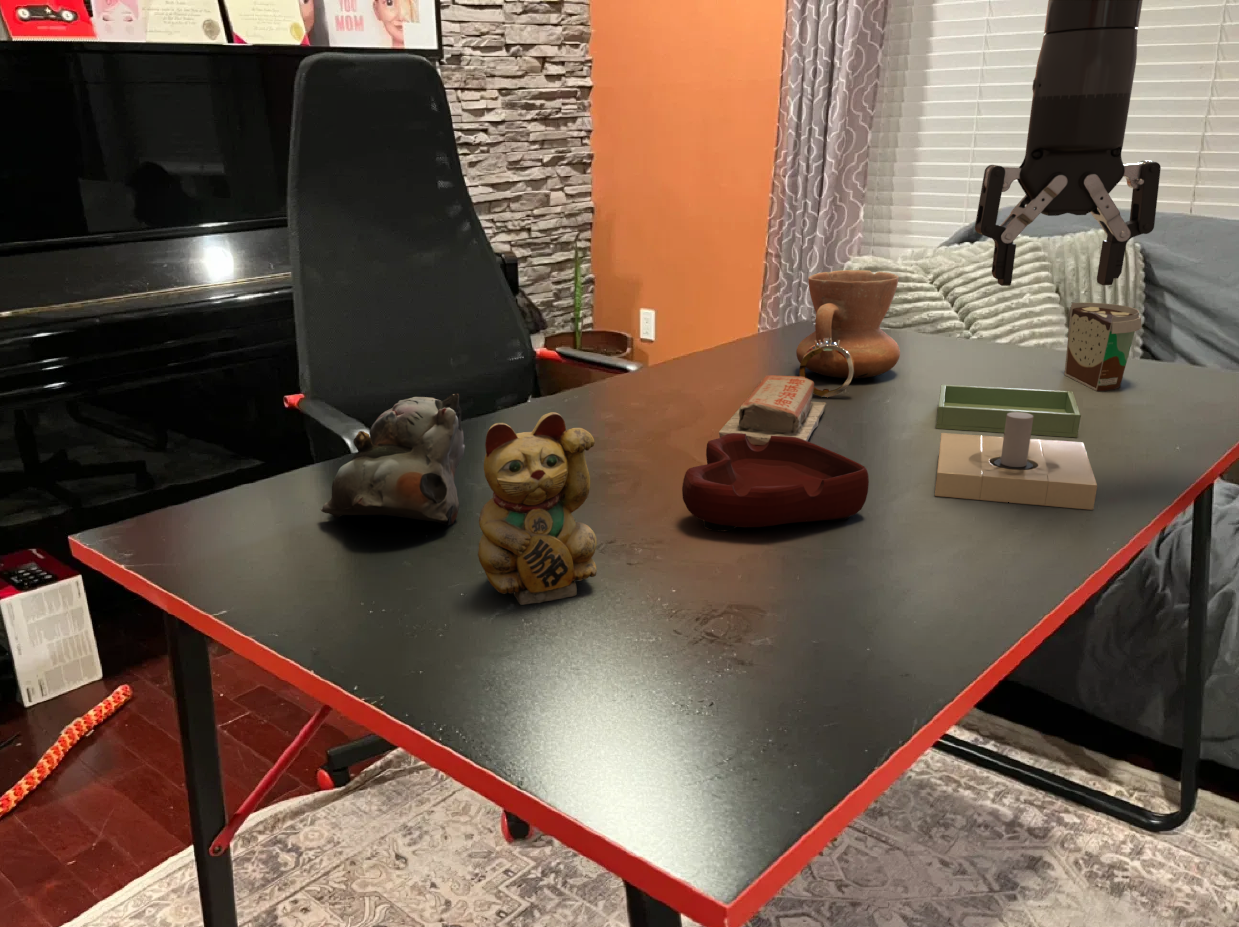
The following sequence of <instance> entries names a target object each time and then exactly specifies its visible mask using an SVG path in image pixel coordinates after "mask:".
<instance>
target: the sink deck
mask: <svg viewBox="0 0 1239 927" xmlns="http://www.w3.org/2000/svg"><path fill="white" fill-rule="evenodd" d="M1003 439H1004V436H992V435H991V436H990V435H979V434H977V435H976V434H965V433H963V434H962V433H949V432H941V433H940V439H939V440H940V441H939V448H938V449H939V450H938V459H937V468H936V469H937V470H936V477H935V488H934V496H935V497H942V498H953V499H955V498H956V499H965V500H975V501H976V500H977V501H987V502H997V503H998V502H999V503H1008V502H1009V504H1020V505H1033V506H1043V507H1055V508H1066V509H1078V510H1088V511H1090V510H1091V511H1094V508H1095V502H1096V496H1097V491H1098V484H1097V480H1096V478H1095V473H1094V471H1093V468H1092V465H1091V462H1090V460H1089V456H1088V453H1087V450H1086V447H1085V443H1084V442H1083V441H1082V442H1081V441H1067V440H1052V439H1037V438H1030V444H1029V451H1028V458H1027V461H1028V462H1030V463H1032V464H1033V469H1030V470H1012V469H1005V468H1000V467H997V466H994V461H995V460H998V459H1001V454H1002V446H1003Z"/></svg>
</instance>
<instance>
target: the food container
mask: <svg viewBox="0 0 1239 927" xmlns="http://www.w3.org/2000/svg"><path fill="white" fill-rule="evenodd" d="M1067 317H1068V318H1069V323H1068V332H1067V343H1066V354H1065V365H1064V374H1063V376H1065V377H1067V378H1070V379H1072V380H1074V381H1076V383H1077V382H1078V383H1079V384H1081V385H1083V386H1085V387H1087V388H1090V390H1094V391H1095V392H1107V391H1113V390H1116V389H1118V388H1120V387H1121V386H1122V381H1123V378H1124V373H1125V369H1126V366H1127V362H1128V358H1129V355H1130V350H1131V348H1132V343H1133V340H1134V335H1135V333H1136V332H1137V331H1140V330H1141V329H1142V316H1141V315H1140V311H1139V309H1137V308H1134V307H1131V306H1126V305H1120V304H1115V303H1104V302H1086V301H1085V302H1071V304H1070V307H1069V310H1068V314H1067Z"/></svg>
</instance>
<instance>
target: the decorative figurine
mask: <svg viewBox="0 0 1239 927" xmlns="http://www.w3.org/2000/svg"><path fill="white" fill-rule="evenodd" d="M595 444H596V442H595V438H594V437H593V435H592V434H591V433H590V431H588V430H587V429H584V428H582V427H573V428H569V429H567V428H566V422H565V419H564V418H563V417H562V415H561V414H560V413H557V412H553V411H552V412H548V413H546V414H545V413H544V414H543V415H542V416H541V417H540V418H539V420H537V422H536V424H535V426H534V428H533V429H532V431H525V432H518V433H516V432H515V430H514V429H513V427H511V426H510V425H509V424H507V423H505V422H496V423H494V424H492V425H491V426H490V427H489V429H488V430H487V432H486V434H485V443H484V447H485V456H484V460H483V472H484V477H485V479H486V482H487V484H488V487H489V488H490V489H491V491H492V498H490V499H489V500H488V501H487V502H486V503H485V504H484V505H482V508H481V511H480V512H479V517H478V524H479V528H480V530H481V532H482V535H481V537H480V539H479V542H478V550H477V554H478V555H477V557H478V561H479V563H480V566H481V568H482V569H483V571H484V573H485V575H486V578H487V580H488V581H489V584H490V585H491V586H492V587H493V588H494V589H495V590H496V591H497V592H498V593H500V594H502V595H503V594H505V595H506V594H513V596H514V597H515V598H516V601H517V602H518V604H520V605H529V604H542V603H544V602H548V601H556V600H560V599H566V598H572V597H575V596H577V593H578V592H577V590H578V589H577V582H581V581H582V580H587V579H589V578H594V577H596V576H597V573H598V572H597V570H598V569H597V564H596V563H595V561H594V559H593V557H594V555H595V554H596V550H597V546H598V540H597V536H596V534H595V532H594V530H592V528H591V527H590V525H587V524H585V523H583V522H578V521H576V520H575V517H574V516H573V513H574V512H576V511H578V509H580V508H581V506H583V504H585V502H586V501H587V499H588V497H589V494H590V489H591V475H590V472H589V468H588V465H587V461H586V456H585V452H586V451H587V452H588V451H589V450H590V449H591V448H593V447H594V446H595Z"/></svg>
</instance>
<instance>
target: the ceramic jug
mask: <svg viewBox="0 0 1239 927" xmlns="http://www.w3.org/2000/svg"><path fill="white" fill-rule="evenodd" d="M807 280H808V290H809V295H810V299H811V302H812V305H813V309H814V311H815V320H814V321H815V322H814V324H815V326H814V331H813V332H812V333H810V334H809V335H807V336H805V338H804V339H802V340H801V341H800V342H799V343H798V345H797V348H796V351H795V352H796V353H795V355H796V358H797V361H798V362H799V365H800V364H801V361H802V359H803V357H804V355H805V354H806V352H807V351H808V350H809V349H810V348H811V347H812V346H814V345H815V343H814V341H815V340H817V344H818V343H819V340H821V342H823V338H829V337H831V338H832V339H831V340H832V342H836V343H837V340H840V341H839V345H838V346H840V347H842V348H844V349H845V350H846V351H847V352H849V354H850V355H851V356H852V358H853V361H854V365H855V371H854V376H853V378H852V379H865V378H866V379H867V378H872V377H876V376H880V375H882V374H885V373H887V372H889V371H890V370H891V369H893V368H894V367H895V366H896V365H897V364H898V362H899V359H900V356H901V350H900V349H901V348H900V346H899V344H898V343H897V342H896V340H895V339H893V337H891V336H890V335H888V334H887V333H886V332H885V331H884V330H882V329H881V324H882V322H883V321H884V319H885V317H886V315H887V314H888V311H889V309H890V307H891V305H892V302H893V300H894V298H895V294H896V291H897V289H898V284H899V275H897V274H895V273H891V272H888V271H876V272H875V273H874V272H872V271H871V270H866V269H862V270H861V269H845V270H844V269H843V270H833V271H823V272H818V273H814V274H812V275H810V276H808V278H807ZM805 369H807V370H809V371H811V372H813V373H816V374H818V375H821V376H825V377H830V378H837V379H847V377H848V373H849V367H848V363H847V361H846V359H845V358H844V357H843V356H842V355H841V354H839V353H838V352H836V351H835V350H832V351H823V350H822V352H821V353H819V354H817V355H815V356H813V357H812V358H811V359H810V360H809V361H808V362H807V364H806V368H805Z"/></svg>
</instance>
